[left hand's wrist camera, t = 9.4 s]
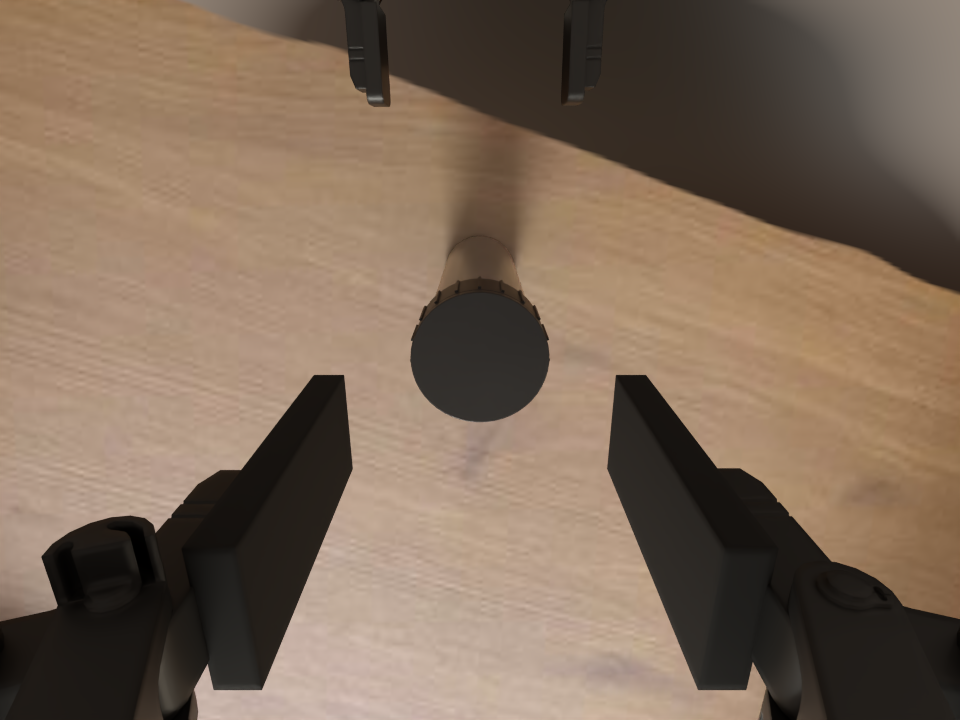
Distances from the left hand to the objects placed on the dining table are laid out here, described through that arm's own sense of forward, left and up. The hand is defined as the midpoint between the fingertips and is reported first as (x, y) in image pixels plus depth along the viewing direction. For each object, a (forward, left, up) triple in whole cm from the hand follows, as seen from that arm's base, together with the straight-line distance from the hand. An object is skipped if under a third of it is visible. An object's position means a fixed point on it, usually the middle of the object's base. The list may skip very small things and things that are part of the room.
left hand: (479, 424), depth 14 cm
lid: (0, 0, -5) cm, 5 cm away
